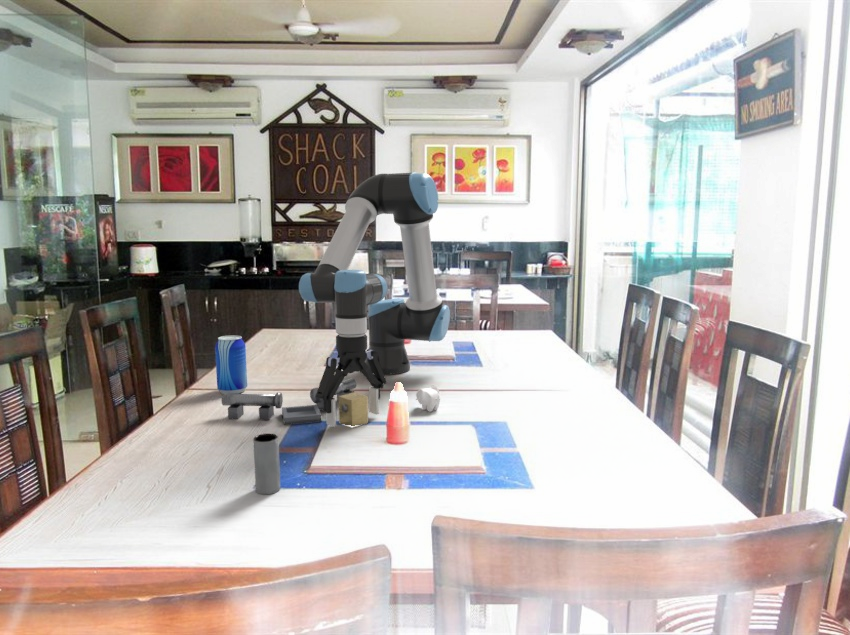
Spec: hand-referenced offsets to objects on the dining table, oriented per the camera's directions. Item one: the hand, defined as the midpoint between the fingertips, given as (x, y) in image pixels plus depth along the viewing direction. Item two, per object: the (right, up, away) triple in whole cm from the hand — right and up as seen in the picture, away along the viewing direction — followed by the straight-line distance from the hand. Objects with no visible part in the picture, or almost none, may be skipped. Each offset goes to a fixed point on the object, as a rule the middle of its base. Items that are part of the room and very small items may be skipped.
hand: (353, 419), depth 161 cm
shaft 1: (-27, 0, +6) cm, 27 cm away
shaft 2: (-6, +1, +15) cm, 17 cm away
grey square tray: (-14, 0, +5) cm, 14 cm away
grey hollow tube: (-12, -8, -38) cm, 40 cm away
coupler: (0, -1, 0) cm, 1 cm away
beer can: (-38, +3, +30) cm, 49 cm away
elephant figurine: (+19, +1, +12) cm, 22 cm away
